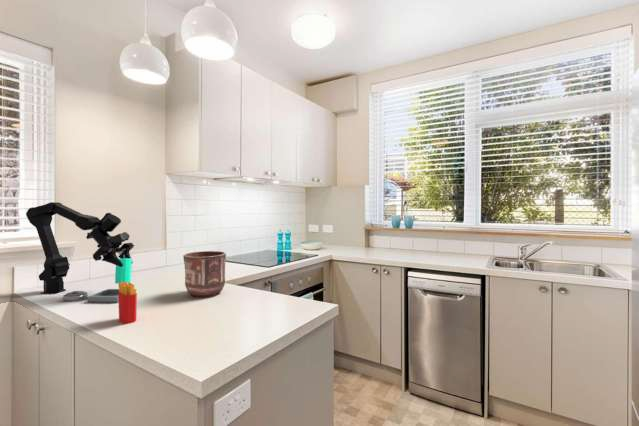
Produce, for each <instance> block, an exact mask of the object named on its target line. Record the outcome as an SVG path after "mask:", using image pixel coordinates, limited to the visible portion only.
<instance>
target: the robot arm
mask: <svg viewBox="0 0 639 426" xmlns="http://www.w3.org/2000/svg"><path fill="white" fill-rule="evenodd" d="M25 215H26V218H27V220H28V221H29V223H30V224H31V226H33V227H35V229H36V231H37V235H38V237H39V241H40V243H41V247H42V250H43V252H44V256H45V260H44V263H43V268H44V270H42V272H41V273H40V274H39V275H38V280H39V281H41V282H42V281H43V291H41V292H40V295H42V294H43V295H45V294H46V295H48V294H49V295H53V294H54V295H55V294H58V293H62V292H64V291H66V289H65V287H64V285H65V284H64V283H65V282H64V278H66V277H67V275H68V272H69V271H70V266H71V264H70V263H69V260H68V259H69V258H68V257H67V256H62V255H61V253H60V251H59V248H58V244H57V242H56V239H55V235H54V233H53V229H52V226H51V224H52V221H53V216H54V215H58V216H60V217H63V218H65V219H67V220H69V221H71V222H73V223H74V224H75V226H76V227H77V228H78V229H80V230H82V231H89V230H91V231H90V232H87V234H86V239H87V240H89V239H93V240H94V241H95V242H96V243H97V245H96V247H97V250H96V251H94V253H93V254H92V258H93V260H94V261H95V262H97V261H102V262H106V263H108V264H109V263H110V264H112V265H115V266H116V265H117V266H120V267H122V266H123V264H122V263H121V261H120V260H119V258H120V259H124V258H132V257H131V255H130V252H131V250H132V249H133V248H134V247H135V245H134V244H133V242H125V241H129V238H130V233H128V232H127V231H123V232H121V233H118V234H116V235H112V236H111V235H110V234H109V233H112V232H113V231H114V230H115V229H116V228H117V227H118V226H119V225H120V224H121V223H122V220H121V218H120V217H118V216H116V215H114V214H112V213H111V212H106V213H105V214H104V216H103V217H102V218H101V219H99V217H97V216H94V215H89V214H83V213H81V212H79V211H76V210H75V209H73V208H70V207H68V206H66V205H64V204H63V203H62V202H59V201H56V202H52V201H51V202H48V203H45V204H42V205H38V206H34V207H33V206H32V207H29V208H28V209H27V210H26V212H25ZM123 242H125V243H123ZM116 253H117V254H118V255H117V254H116ZM132 264H133V261H132V263H131V265H132Z"/></svg>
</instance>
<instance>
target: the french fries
mask: <svg viewBox="0 0 639 426" xmlns="http://www.w3.org/2000/svg"><path fill="white" fill-rule="evenodd" d="M117 284H118V289H119V292H118V301H119V302H118V319H119V322H121V324H132V323H135V322H136V321H137V307H138V305H137V303H138V302H137V299H138V293H137V289H136V288H135V284H133V283H132V282H128V283H127V282H125V281H124V282H120V283H117Z"/></svg>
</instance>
